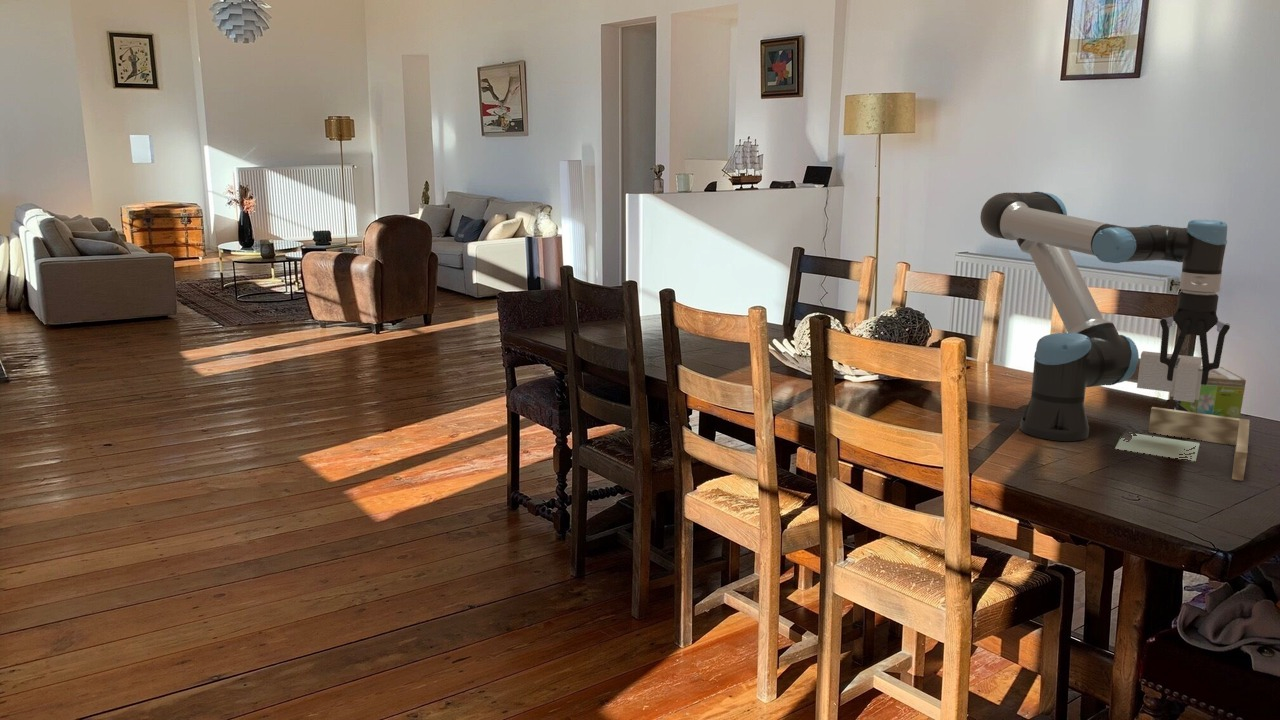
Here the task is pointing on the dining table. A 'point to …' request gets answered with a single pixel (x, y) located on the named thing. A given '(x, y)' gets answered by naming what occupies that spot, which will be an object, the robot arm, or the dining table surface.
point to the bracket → (1156, 375)
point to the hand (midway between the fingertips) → (1184, 396)
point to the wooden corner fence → (1205, 431)
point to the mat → (1159, 446)
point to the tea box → (1218, 395)
